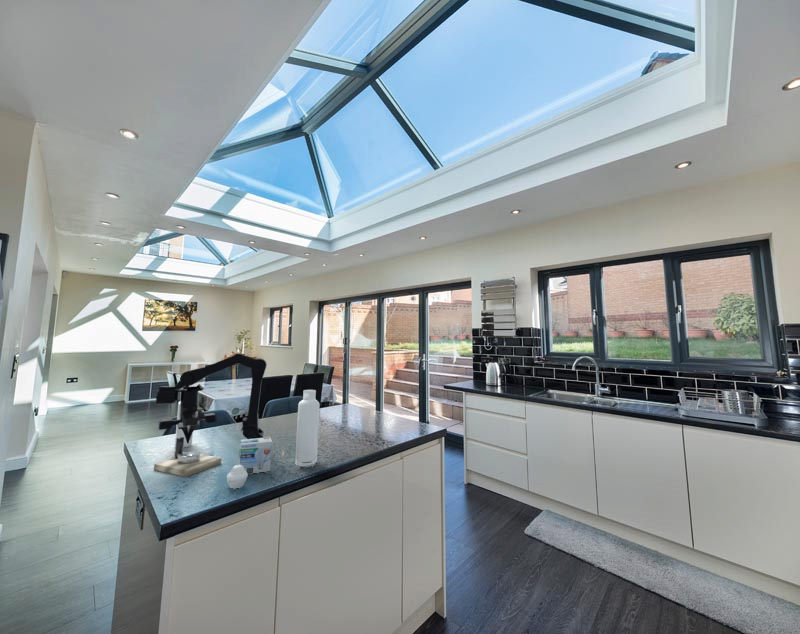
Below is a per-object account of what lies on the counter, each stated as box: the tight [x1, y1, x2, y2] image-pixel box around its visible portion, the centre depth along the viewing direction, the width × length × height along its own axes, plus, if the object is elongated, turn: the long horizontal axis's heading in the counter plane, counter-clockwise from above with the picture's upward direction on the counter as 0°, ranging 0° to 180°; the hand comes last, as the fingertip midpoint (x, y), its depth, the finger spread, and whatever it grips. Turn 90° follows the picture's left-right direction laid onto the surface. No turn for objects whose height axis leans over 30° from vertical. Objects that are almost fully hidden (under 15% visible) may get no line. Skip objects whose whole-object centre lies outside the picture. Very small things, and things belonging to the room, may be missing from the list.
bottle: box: [294, 389, 321, 466], centre depth 127 cm, size 8×8×28 cm
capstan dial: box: [173, 437, 201, 464], centre depth 122 cm, size 12×7×7 cm, turn 61°
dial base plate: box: [153, 453, 222, 478], centre depth 121 cm, size 17×14×2 cm
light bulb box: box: [238, 436, 273, 475], centre depth 119 cm, size 11×7×11 cm, turn 117°
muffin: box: [225, 464, 248, 489], centre depth 105 cm, size 6×6×7 cm
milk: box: [174, 400, 194, 449], centre depth 146 cm, size 6×6×22 cm
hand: (187, 443), depth 127 cm, fingers closed
